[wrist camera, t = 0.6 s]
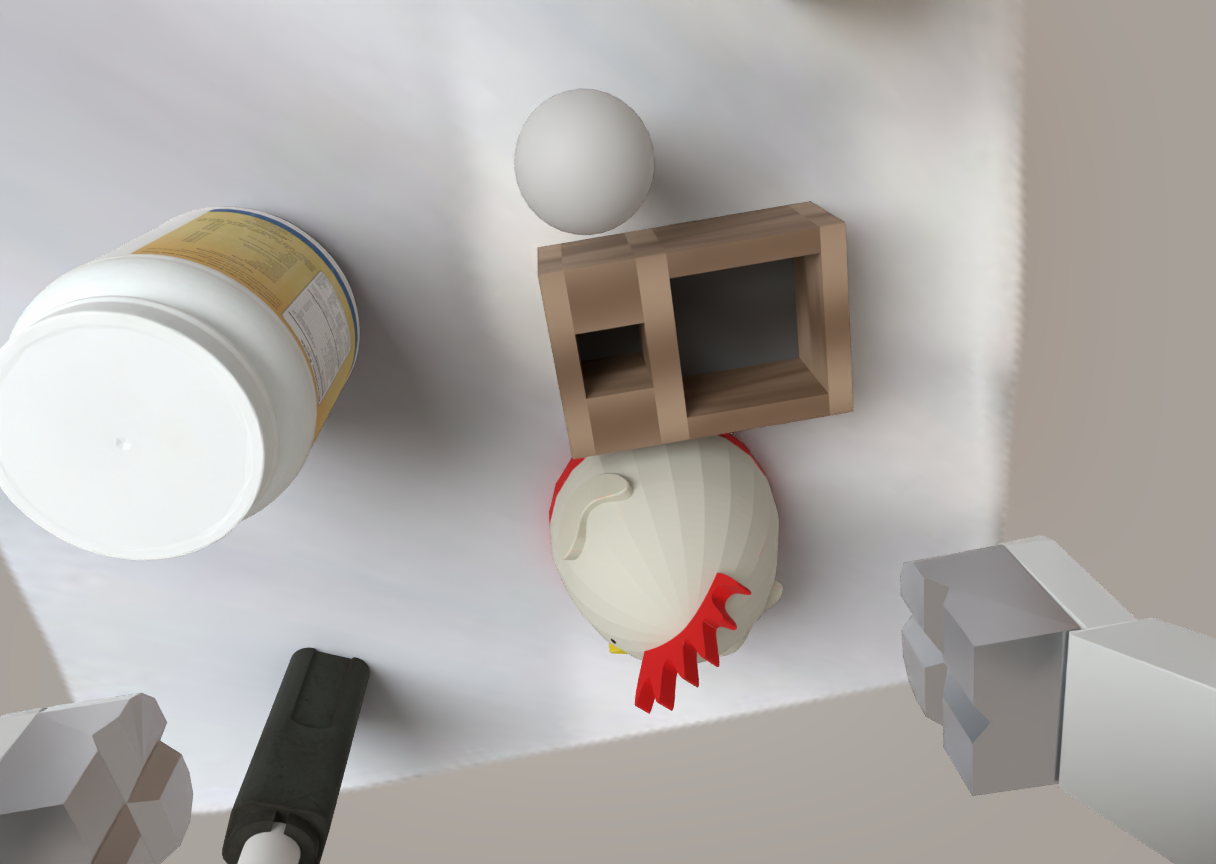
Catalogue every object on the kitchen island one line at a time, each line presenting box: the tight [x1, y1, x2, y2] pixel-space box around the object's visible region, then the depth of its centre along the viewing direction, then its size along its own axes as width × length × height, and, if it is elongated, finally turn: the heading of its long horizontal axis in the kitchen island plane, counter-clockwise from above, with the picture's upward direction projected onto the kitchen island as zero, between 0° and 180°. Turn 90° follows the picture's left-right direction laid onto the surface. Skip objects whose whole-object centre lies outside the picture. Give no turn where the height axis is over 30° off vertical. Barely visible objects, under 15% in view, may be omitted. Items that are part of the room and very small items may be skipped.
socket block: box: [538, 201, 853, 459], centre depth 48 cm, size 10×15×6 cm, turn 99°
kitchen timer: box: [549, 433, 783, 714], centre depth 49 cm, size 14×14×15 cm
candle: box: [222, 648, 370, 864], centre depth 48 cm, size 5×5×25 cm
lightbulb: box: [515, 89, 655, 235], centre depth 41 cm, size 6×6×11 cm
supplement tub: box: [0, 207, 360, 560], centre depth 41 cm, size 12×12×17 cm
